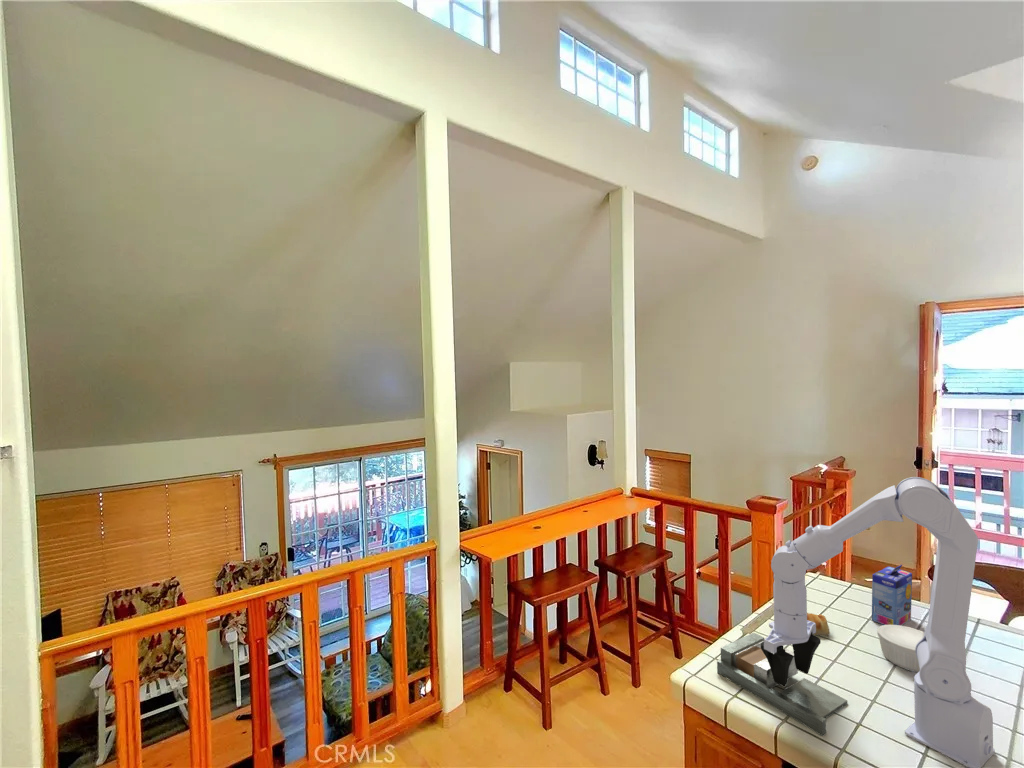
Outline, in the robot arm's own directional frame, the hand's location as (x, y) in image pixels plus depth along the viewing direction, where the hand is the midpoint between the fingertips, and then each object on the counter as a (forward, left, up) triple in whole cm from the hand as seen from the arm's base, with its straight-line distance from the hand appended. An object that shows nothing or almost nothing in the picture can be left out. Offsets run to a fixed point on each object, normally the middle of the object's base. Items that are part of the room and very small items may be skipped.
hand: (791, 677), depth 94 cm
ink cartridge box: (+3, -49, -3) cm, 49 cm away
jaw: (+3, 0, -2) cm, 4 cm away
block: (+7, +1, -3) cm, 7 cm away
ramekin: (-7, -32, -3) cm, 33 cm away
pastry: (+11, -27, -3) cm, 30 cm away
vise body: (+1, 0, -3) cm, 3 cm away
